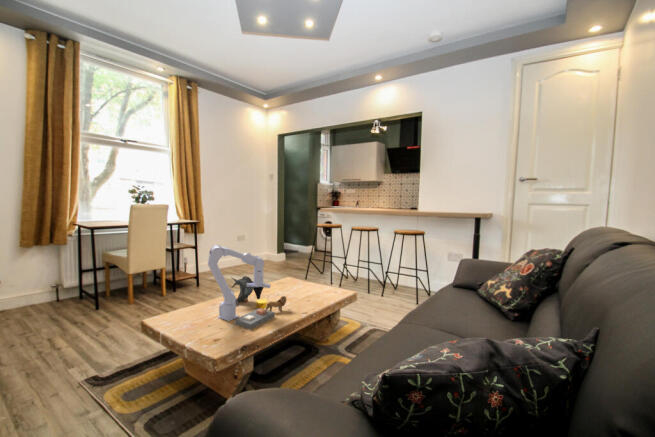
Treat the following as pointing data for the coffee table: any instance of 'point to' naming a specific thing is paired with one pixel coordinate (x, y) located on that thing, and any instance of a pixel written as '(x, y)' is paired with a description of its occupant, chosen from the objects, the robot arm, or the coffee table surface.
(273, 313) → the button housing
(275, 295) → the coffee table surface
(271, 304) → the lion figurine
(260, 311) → the salmon pink block
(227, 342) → the coffee table surface
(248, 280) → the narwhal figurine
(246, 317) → the cream cube
